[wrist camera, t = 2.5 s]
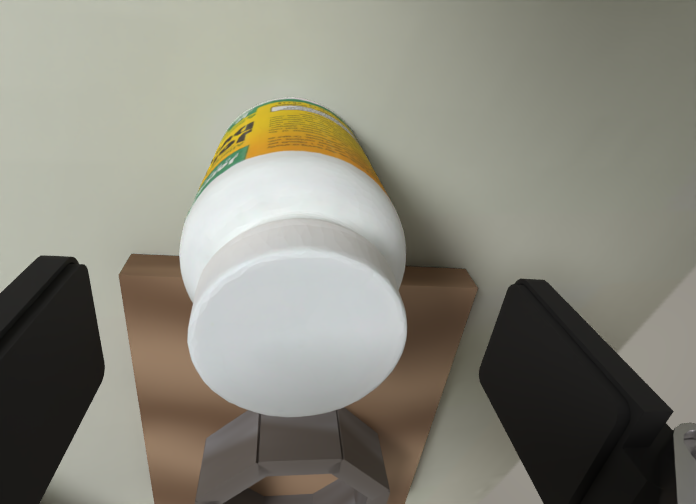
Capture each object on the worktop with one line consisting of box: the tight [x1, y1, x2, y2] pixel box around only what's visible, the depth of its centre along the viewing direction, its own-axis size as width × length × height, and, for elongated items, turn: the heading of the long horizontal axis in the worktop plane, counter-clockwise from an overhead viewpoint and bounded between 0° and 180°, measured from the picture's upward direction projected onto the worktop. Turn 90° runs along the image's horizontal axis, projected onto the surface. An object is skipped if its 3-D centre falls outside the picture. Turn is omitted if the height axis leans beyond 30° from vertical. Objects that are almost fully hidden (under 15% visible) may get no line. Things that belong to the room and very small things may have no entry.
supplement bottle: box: [179, 97, 407, 417], centre depth 12 cm, size 5×5×10 cm
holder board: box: [119, 254, 478, 504], centre depth 20 cm, size 16×14×4 cm
